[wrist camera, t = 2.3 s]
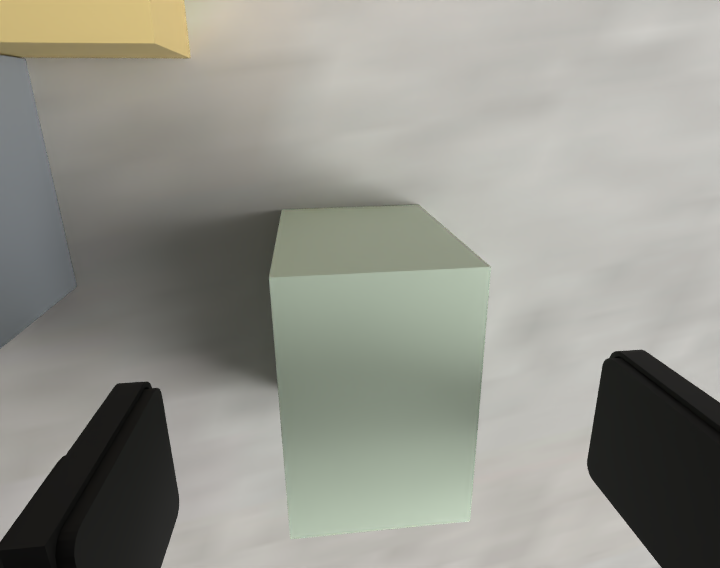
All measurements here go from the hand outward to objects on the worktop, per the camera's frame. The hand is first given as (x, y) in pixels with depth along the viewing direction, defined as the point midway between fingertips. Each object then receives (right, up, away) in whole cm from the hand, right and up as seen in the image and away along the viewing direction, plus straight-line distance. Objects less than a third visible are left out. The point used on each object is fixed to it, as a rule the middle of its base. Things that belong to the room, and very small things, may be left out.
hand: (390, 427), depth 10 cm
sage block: (-1, +2, +5) cm, 6 cm away
